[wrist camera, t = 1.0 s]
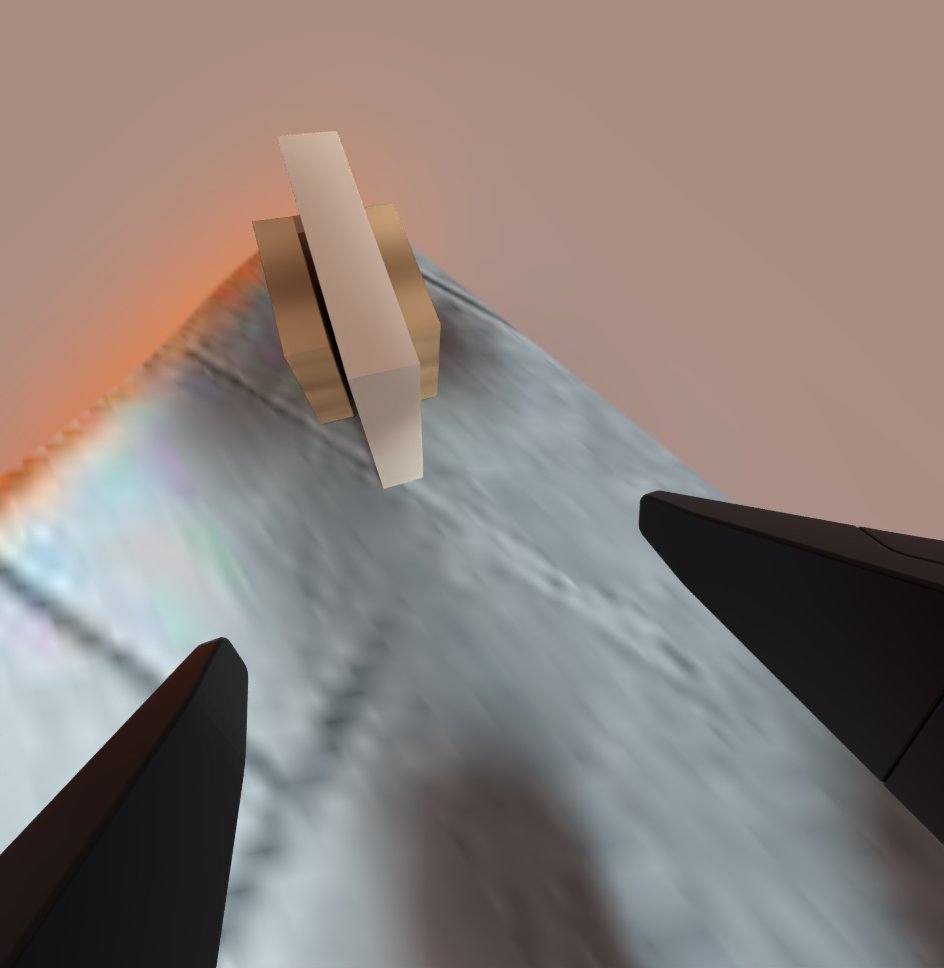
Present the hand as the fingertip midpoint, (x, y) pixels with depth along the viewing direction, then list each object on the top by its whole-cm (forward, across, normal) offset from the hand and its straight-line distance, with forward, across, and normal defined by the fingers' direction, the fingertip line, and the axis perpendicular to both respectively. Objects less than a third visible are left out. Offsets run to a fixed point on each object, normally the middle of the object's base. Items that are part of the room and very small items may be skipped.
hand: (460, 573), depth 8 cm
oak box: (+21, 0, -2) cm, 21 cm away
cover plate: (+19, 0, 0) cm, 19 cm away
